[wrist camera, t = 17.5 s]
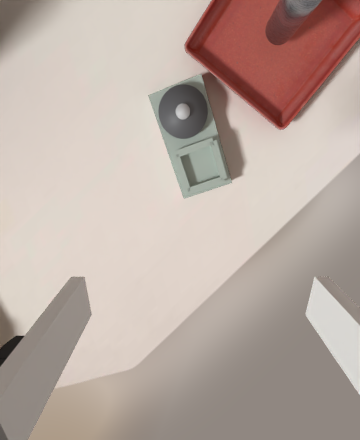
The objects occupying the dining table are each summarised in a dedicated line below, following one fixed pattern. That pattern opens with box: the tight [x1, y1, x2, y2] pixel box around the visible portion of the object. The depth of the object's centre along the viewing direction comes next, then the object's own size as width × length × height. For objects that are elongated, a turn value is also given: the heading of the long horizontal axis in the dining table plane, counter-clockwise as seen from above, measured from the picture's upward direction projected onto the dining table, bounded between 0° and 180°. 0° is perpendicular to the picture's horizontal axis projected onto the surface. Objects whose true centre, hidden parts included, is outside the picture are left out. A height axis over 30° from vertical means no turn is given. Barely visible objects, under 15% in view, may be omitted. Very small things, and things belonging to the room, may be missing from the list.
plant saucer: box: [185, 0, 360, 130], centre depth 30 cm, size 18×18×3 cm
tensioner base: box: [148, 74, 232, 198], centre depth 34 cm, size 16×8×4 cm, turn 19°
